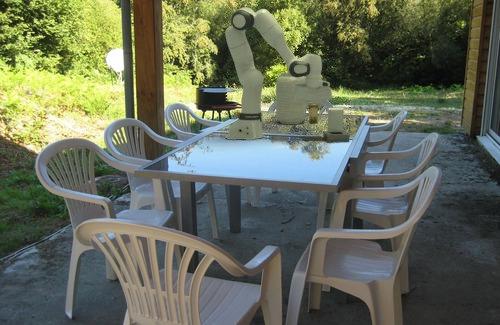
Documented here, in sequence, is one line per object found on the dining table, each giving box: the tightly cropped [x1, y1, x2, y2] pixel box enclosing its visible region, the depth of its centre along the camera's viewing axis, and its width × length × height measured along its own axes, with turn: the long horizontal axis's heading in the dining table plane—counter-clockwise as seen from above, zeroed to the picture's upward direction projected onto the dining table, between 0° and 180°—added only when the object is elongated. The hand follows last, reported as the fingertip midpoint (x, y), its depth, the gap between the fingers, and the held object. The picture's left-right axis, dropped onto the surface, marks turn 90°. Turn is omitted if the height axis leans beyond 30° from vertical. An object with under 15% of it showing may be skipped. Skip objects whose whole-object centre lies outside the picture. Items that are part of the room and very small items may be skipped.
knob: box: [307, 102, 320, 125], centre depth 276 cm, size 6×6×11 cm
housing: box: [322, 130, 350, 143], centre depth 273 cm, size 12×12×4 cm
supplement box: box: [327, 107, 345, 131], centre depth 293 cm, size 9×9×15 cm
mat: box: [300, 135, 325, 142], centre depth 279 cm, size 12×12×1 cm
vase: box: [275, 72, 307, 125], centre depth 334 cm, size 20×20×34 cm
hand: (313, 108), depth 275 cm, fingers closed on knob, 5 cm apart
